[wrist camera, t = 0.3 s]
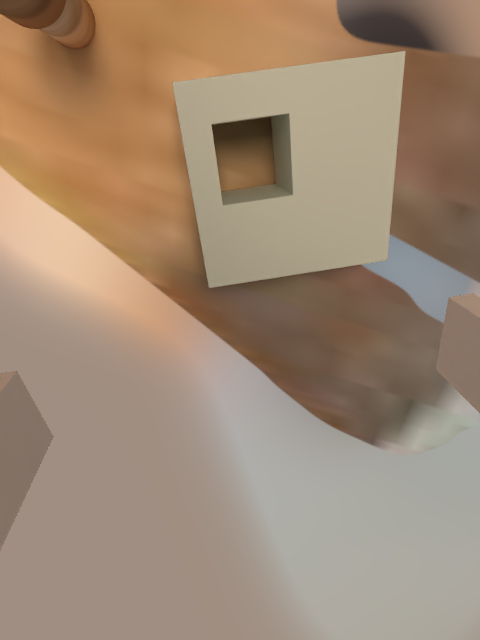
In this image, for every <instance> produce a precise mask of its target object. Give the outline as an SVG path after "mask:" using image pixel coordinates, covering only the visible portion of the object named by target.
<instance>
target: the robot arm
mask: <svg viewBox="0 0 480 640" xmlns="http://www.w3.org/2000/svg"><path fill="white" fill-rule="evenodd" d="M436 370H437V371H438V372H439V373H440V374H441V375H442V376H443V377H444V378H445V379H446V380H447V381H448V382H449V383H450V384H451V385H452V386H453V387H454V388H455V389H456V390H457V391H458V392H459V393H460V394H461V395H462V396H463V397H464V398H465V399H466V400H467V401H468V402H469V403H470V404H471V405H472V406H473V407H474V408H475V409H476V410H477V411H478V412H479V413H480V297H478V296H477V295H475V294H473V293H472V294H466V295H460V296H454V297H449V300H448V305H447V310H446V316H445V321H444V326H443V332H442V337H441V343H440V348H439V354H438V359H437V365H436ZM52 438H53V435H52V433H51V431H50V430H49V428H48V426H47V424H46V422H45V421H44V419H43V417H42V415H41V414H40V412H39V410H38V408H37V406H36V405H35V403H34V401H33V399H32V397H31V396H30V394H29V392H28V390H27V388H26V387H25V385H24V383H23V381H22V380H21V378H20V376H19V374H18V372H17V371H13V372H7V373H1V374H0V550H1V548H2V546H3V543H4V541H5V539H6V537H7V535H8V532H9V531H10V528H11V526H12V524H13V522H14V520H15V518H16V516H17V513H18V511H19V509H20V507H21V505H22V503H23V501H24V498H25V496H26V494H27V492H28V490H29V488H30V485H31V483H32V481H33V479H34V477H35V475H36V473H37V471H38V468H39V466H40V464H41V462H42V460H43V458H44V456H45V453H46V451H47V449H48V447H49V445H50V443H51V440H52Z"/></svg>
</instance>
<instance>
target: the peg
mask: <svg viewBox="0 0 480 640" xmlns="http://www.w3.org/2000/svg"><path fill="white" fill-rule="evenodd" d="M0 14H2V15H4V16H5V17H7V18H9V19H10V20H12V21H14V22H15V23H17V24H19V25H21V26H24V27H27V28H32V29H39V30H41V31H43V32H44V33H46V34H47V35H49V36H50V37H52V38H53V39H55V40H56V41H58V42H59V43H61V44H62V45H64V46H66V47H68V48H72V49H80V48H83V47H85V46H87V45H88V44H89V43H90V42H91V40H92V39H93V36H94V33H95V18H94V14H93V11H92V9H91V7H90V5H89V3H88V2H87V1H86V0H0Z"/></svg>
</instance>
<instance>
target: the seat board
mask: <svg viewBox="0 0 480 640" xmlns="http://www.w3.org/2000/svg"><path fill="white" fill-rule="evenodd" d="M404 61H405V51H403V52H395V53H388V54H380V55H373V56H365V57H358V58H350V59H343V60H335V61H328V62H320V63H313V64H305V65H298V66H290V67H283V68H275V69H268V70H260V71H253V72H245V73H238V74H230V75H223V76H215V77H208V78H200V79H193V80H185V81H178V82H172V85H173V90H174V96H175V101H176V107H177V112H178V118H179V124H180V129H181V135H182V140H183V146H184V151H185V157H186V163H187V168H188V174H189V179H190V185H191V190H192V196H193V202H194V207H195V213H196V218H197V224H198V229H199V235H200V240H201V246H202V252H203V257H204V263H205V268H206V274H207V279H208V285H209V288H213V287H219V286H226V285H232V284H238V283H245V282H251V281H258V280H264V279H270V278H277V277H283V276H290V275H296V274H302V273H309V272H315V271H322V270H328V269H334V268H341V267H347V266H354V265H360V264H366V263H373V262H379V261H386V260H387V256H388V244H389V233H390V222H391V210H392V199H393V187H394V176H395V164H396V153H397V141H398V130H399V119H400V107H401V96H402V84H403V73H404ZM268 117H271V124H272V139H273V154H274V168H275V183H276V184H271V185H264V186H257V187H250V188H243V189H236V190H229V191H223V192H221V189H220V182H219V175H218V168H217V160H216V153H215V146H214V139H213V132H212V125H217V124H224V123H232V122H239V121H246V120H253V119H260V118H268Z"/></svg>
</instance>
